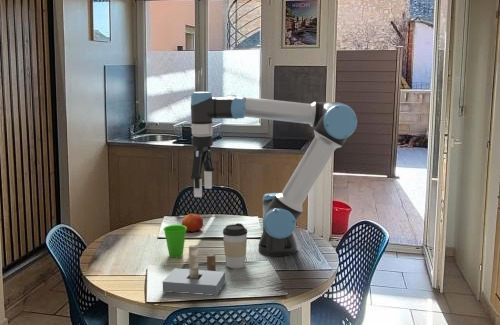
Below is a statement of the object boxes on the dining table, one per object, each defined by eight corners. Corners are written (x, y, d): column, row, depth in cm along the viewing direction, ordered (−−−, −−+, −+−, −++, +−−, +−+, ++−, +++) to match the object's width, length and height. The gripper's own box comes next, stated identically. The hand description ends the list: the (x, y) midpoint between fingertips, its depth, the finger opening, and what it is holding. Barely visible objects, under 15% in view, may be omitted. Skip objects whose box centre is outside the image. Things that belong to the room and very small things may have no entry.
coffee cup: (238, 271, 195) (238, 230, 192) (218, 266, 200) (217, 227, 197) (252, 263, 203) (252, 224, 200) (232, 259, 207) (231, 221, 205)
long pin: (199, 285, 183) (199, 245, 180) (197, 288, 180) (196, 248, 177) (191, 284, 183) (190, 244, 181) (188, 288, 180) (187, 247, 178)
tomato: (179, 233, 239) (179, 215, 238) (185, 227, 248) (185, 210, 247) (200, 234, 238) (199, 216, 236) (205, 228, 247) (204, 211, 245)
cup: (183, 260, 206) (182, 232, 204) (160, 258, 208) (159, 230, 206) (190, 252, 215) (190, 225, 213) (168, 250, 217) (168, 224, 215)
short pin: (216, 270, 196) (216, 254, 195) (214, 273, 193) (214, 257, 192) (208, 269, 196) (208, 253, 195) (206, 272, 194) (205, 256, 192)
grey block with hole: (225, 281, 186) (225, 271, 185) (216, 295, 174) (216, 285, 173) (174, 277, 189) (174, 268, 188) (162, 291, 177) (162, 281, 177)
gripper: (201, 130, 209) (202, 184, 212) (181, 139, 185) (183, 200, 188) (220, 131, 207) (221, 185, 211) (202, 139, 183) (203, 201, 187)
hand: (203, 192), depth 200 cm, fingers open, 13 cm apart
